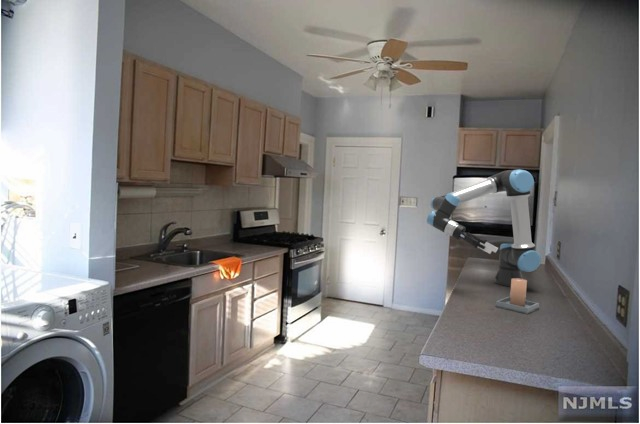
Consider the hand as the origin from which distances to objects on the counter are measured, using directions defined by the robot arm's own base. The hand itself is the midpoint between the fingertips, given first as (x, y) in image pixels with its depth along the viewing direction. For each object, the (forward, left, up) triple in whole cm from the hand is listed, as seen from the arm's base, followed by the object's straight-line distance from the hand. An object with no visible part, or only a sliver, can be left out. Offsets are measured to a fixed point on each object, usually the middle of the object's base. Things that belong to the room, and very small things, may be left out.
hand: (494, 251), depth 217 cm
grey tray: (+9, +16, -23) cm, 29 cm away
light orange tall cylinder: (+9, +16, -22) cm, 29 cm away
